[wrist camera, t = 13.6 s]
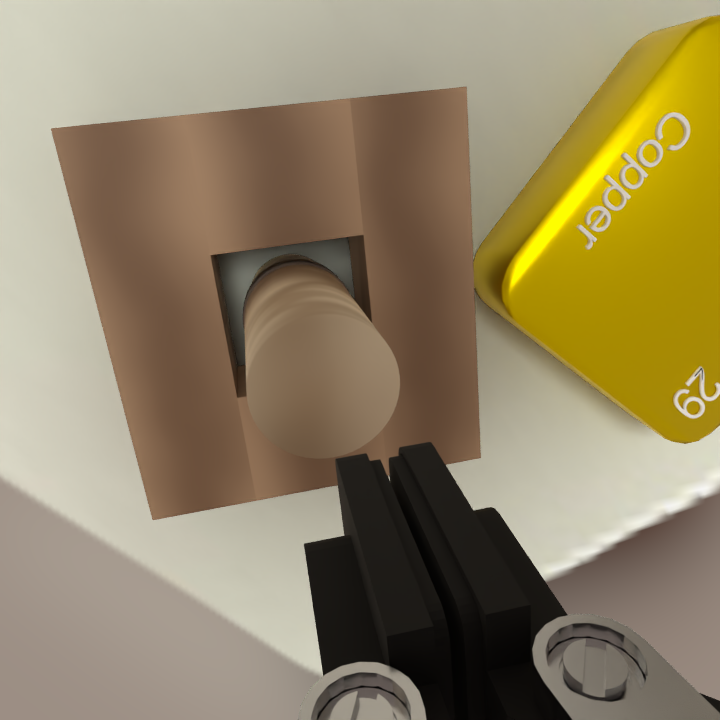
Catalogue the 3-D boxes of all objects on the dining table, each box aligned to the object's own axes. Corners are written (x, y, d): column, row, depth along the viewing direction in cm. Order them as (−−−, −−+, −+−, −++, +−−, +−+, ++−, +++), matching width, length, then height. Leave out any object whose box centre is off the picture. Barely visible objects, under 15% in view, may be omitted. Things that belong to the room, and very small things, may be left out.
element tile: (654, 10, 28) (733, -16, 23) (827, 209, 33) (920, 219, 28) (451, 277, 30) (487, 300, 26) (642, 424, 35) (700, 465, 31)
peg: (333, 240, 28) (395, 301, 17) (344, 333, 30) (407, 445, 18) (234, 253, 27) (231, 326, 16) (251, 347, 29) (258, 472, 18)
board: (434, 95, 27) (466, 86, 23) (452, 422, 32) (480, 457, 29) (79, 131, 25) (50, 128, 21) (163, 474, 30) (152, 520, 27)
